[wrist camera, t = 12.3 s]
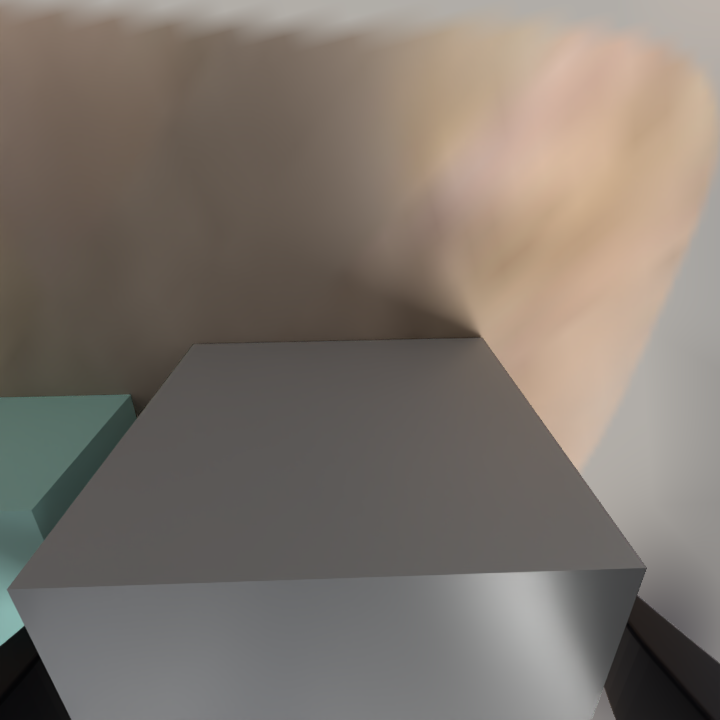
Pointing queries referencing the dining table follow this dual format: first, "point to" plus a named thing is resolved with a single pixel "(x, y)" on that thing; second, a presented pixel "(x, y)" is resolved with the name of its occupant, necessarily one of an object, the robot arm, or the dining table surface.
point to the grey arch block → (332, 548)
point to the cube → (48, 471)
